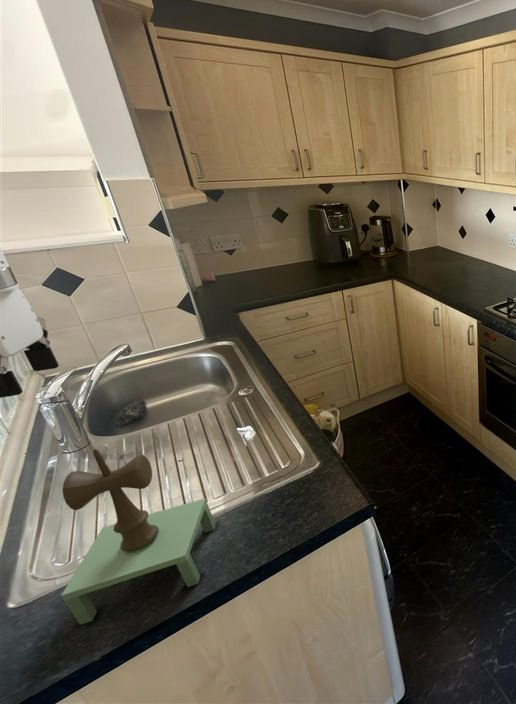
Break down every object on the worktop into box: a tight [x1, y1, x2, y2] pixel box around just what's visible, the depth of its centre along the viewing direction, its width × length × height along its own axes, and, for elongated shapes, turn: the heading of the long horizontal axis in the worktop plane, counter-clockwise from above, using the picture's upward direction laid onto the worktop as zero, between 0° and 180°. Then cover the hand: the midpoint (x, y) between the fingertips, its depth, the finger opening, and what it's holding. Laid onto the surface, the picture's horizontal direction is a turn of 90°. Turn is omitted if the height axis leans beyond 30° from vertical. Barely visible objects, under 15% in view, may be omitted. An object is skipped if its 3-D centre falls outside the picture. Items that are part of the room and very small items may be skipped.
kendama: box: [61, 448, 159, 551], centre depth 68 cm, size 6×10×20 cm, turn 118°
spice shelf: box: [60, 498, 217, 626], centre depth 73 cm, size 16×14×7 cm
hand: (29, 381), depth 68 cm, fingers open, 9 cm apart
